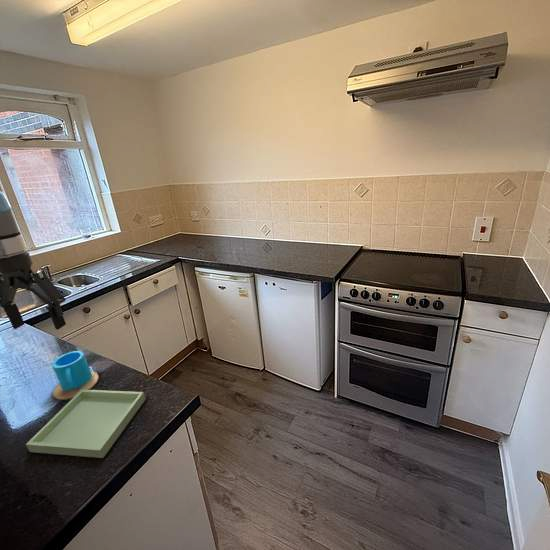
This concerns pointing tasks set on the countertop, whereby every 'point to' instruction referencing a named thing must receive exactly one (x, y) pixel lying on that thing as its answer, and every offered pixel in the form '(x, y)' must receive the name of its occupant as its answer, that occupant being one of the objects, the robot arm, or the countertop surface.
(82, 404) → the tray
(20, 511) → the countertop surface
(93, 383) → the coaster
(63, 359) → the mug
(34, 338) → the countertop surface
